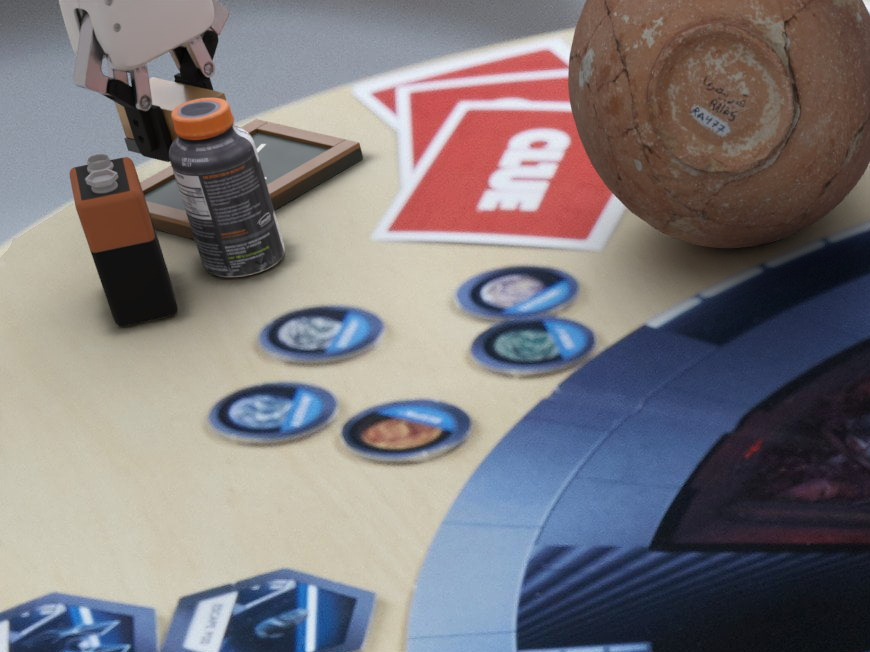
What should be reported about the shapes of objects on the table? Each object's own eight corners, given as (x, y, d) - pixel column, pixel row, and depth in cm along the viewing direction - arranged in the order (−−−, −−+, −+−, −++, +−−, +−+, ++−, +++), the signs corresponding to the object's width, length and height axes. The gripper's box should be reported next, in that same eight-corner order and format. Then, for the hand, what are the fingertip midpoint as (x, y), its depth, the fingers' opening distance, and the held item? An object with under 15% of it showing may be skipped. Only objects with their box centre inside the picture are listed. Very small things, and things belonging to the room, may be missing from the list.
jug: (500, 175, 156) (549, 115, 183) (795, 334, 162) (802, 253, 188) (642, -147, 148) (672, -161, 175) (948, 33, 154) (932, -7, 180)
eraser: (201, 168, 174) (184, 114, 171) (127, 151, 177) (110, 97, 174) (242, 145, 176) (226, 92, 173) (169, 128, 179) (152, 75, 177)
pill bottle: (292, 239, 175) (249, 85, 167) (279, 276, 170) (235, 120, 163) (211, 246, 175) (164, 93, 167) (196, 283, 170) (148, 128, 163)
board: (215, 244, 175) (210, 228, 174) (110, 217, 179) (104, 201, 179) (363, 158, 185) (359, 142, 184) (260, 134, 189) (256, 118, 188)
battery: (116, 330, 166) (69, 192, 159) (108, 289, 171) (62, 153, 164) (180, 317, 167) (136, 179, 160) (170, 276, 171) (127, 141, 165)
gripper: (154, -161, 170) (227, 92, 183) (-29, -80, 160) (62, 181, 173) (229, -149, 167) (299, 108, 180) (48, -66, 157) (135, 200, 170)
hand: (182, 141), depth 176 cm, fingers closed on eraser, 4 cm apart
